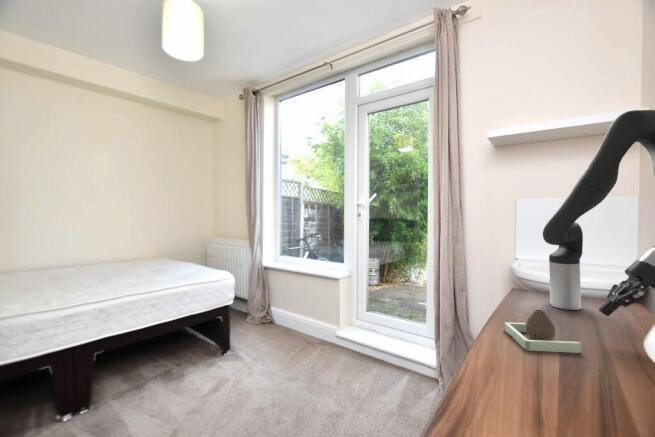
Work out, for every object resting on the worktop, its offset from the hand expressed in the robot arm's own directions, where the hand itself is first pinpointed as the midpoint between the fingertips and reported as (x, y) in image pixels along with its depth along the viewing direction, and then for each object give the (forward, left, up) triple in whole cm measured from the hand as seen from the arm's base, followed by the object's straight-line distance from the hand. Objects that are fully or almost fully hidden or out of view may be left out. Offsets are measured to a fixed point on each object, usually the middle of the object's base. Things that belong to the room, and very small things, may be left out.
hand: (602, 313), depth 82 cm
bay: (+1, -17, -8) cm, 18 cm away
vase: (+1, -17, -8) cm, 19 cm away
